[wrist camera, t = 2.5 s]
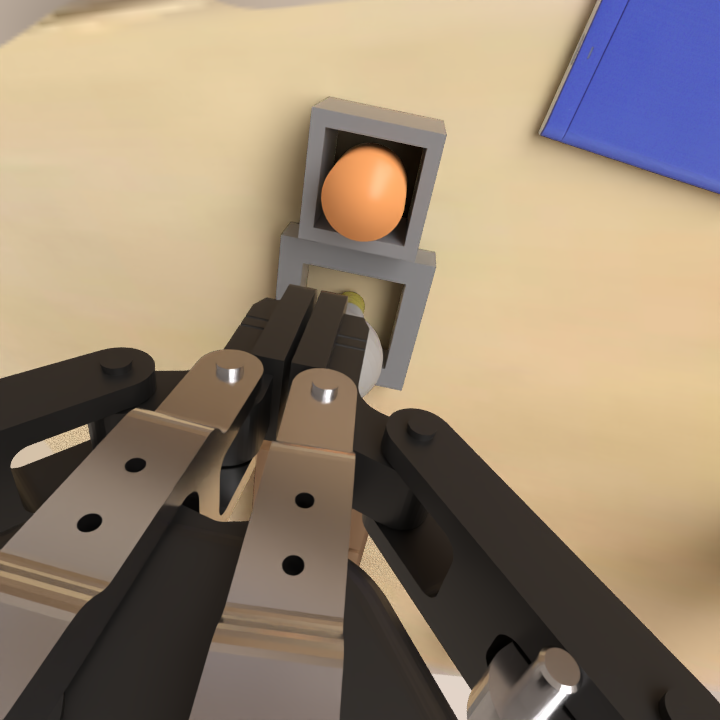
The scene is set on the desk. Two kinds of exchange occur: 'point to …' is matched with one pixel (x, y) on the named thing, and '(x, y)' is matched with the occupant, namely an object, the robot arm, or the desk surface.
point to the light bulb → (373, 347)
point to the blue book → (646, 89)
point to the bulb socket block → (373, 258)
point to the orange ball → (365, 192)
